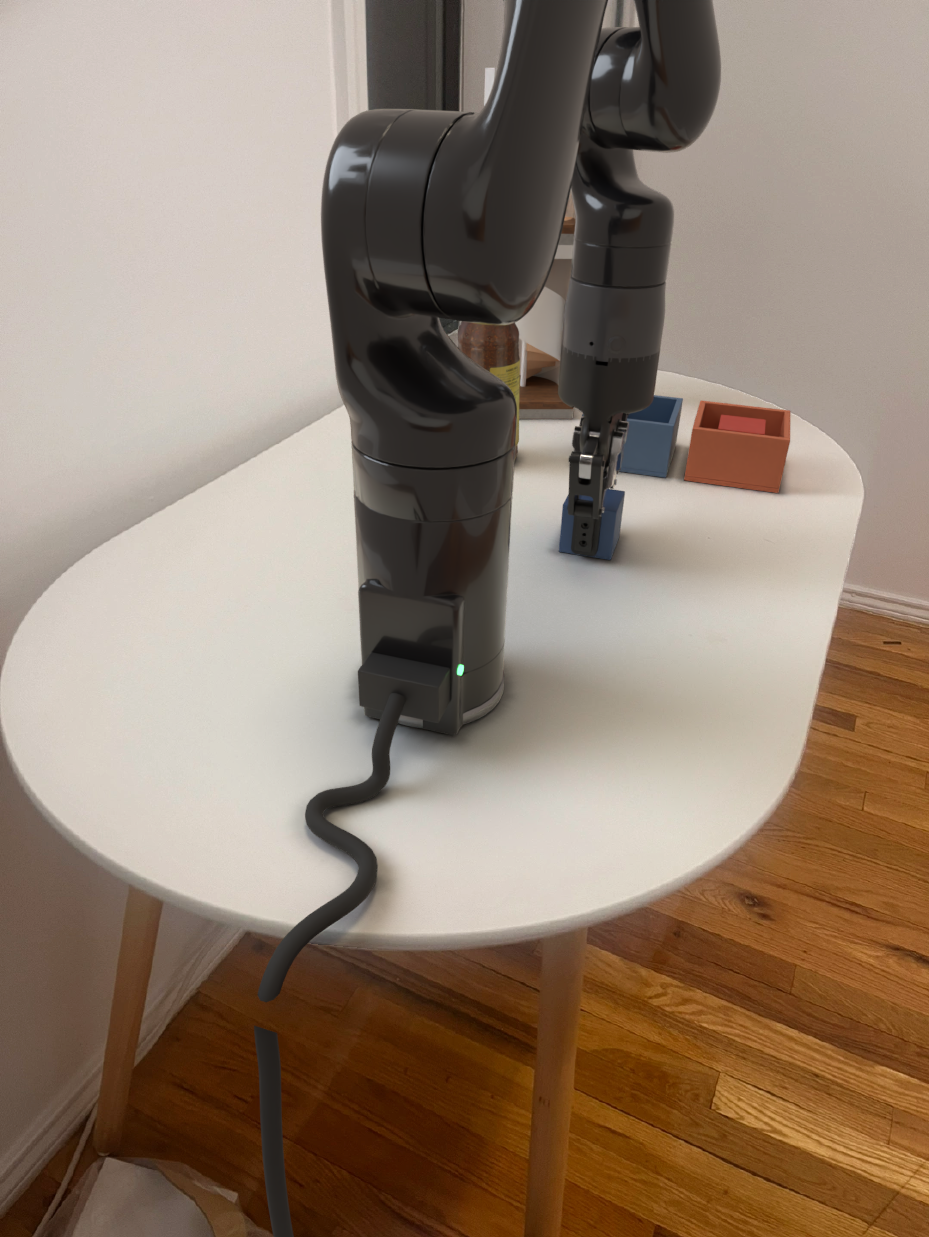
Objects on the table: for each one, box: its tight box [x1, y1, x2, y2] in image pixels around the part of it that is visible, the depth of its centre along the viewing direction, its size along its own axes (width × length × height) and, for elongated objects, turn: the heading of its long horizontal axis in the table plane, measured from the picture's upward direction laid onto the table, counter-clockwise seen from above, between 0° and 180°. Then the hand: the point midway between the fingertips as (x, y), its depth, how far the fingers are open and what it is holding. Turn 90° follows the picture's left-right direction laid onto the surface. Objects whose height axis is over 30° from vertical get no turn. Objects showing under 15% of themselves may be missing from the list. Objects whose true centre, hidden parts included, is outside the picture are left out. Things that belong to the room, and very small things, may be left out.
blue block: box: [558, 488, 626, 561], centre depth 76 cm, size 4×4×4 cm
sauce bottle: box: [457, 321, 520, 460], centre depth 88 cm, size 6×6×20 cm
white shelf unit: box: [483, 67, 575, 420], centre depth 99 cm, size 11×11×35 cm
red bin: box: [683, 400, 791, 494], centre depth 90 cm, size 9×9×6 cm
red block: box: [718, 415, 766, 435], centre depth 90 cm, size 4×4×4 cm
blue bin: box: [581, 394, 684, 479], centre depth 93 cm, size 9×9×6 cm
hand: (589, 539), depth 76 cm, fingers closed on blue block, 4 cm apart
